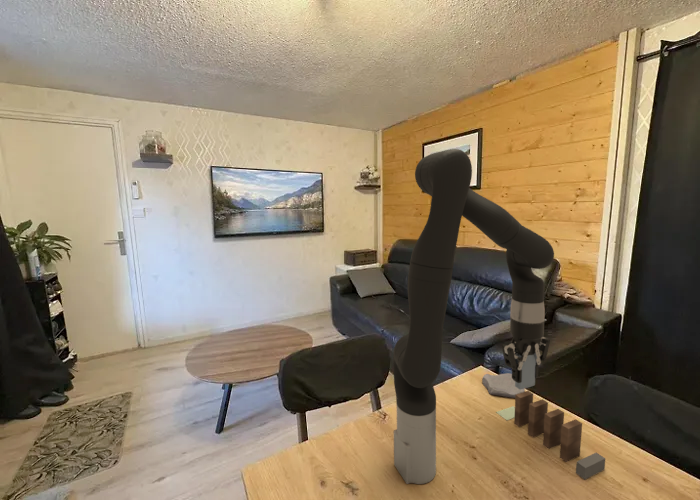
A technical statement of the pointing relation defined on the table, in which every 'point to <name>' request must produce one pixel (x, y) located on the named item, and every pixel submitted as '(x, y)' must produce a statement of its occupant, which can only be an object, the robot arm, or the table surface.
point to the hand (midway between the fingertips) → (525, 378)
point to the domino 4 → (553, 428)
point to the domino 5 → (570, 440)
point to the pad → (507, 413)
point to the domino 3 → (537, 417)
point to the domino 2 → (522, 408)
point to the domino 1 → (527, 372)
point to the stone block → (501, 385)
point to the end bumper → (590, 465)
